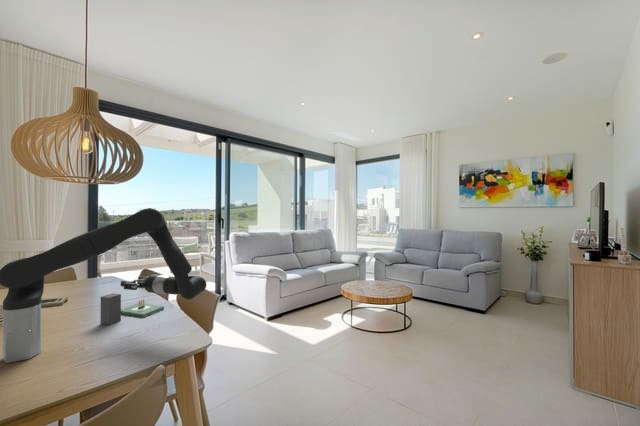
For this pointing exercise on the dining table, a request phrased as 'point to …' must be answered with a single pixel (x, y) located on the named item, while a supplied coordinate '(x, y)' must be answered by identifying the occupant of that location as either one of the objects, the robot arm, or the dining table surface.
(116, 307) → the block
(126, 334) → the dining table surface
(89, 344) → the dining table surface
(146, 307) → the board
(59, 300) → the computer
